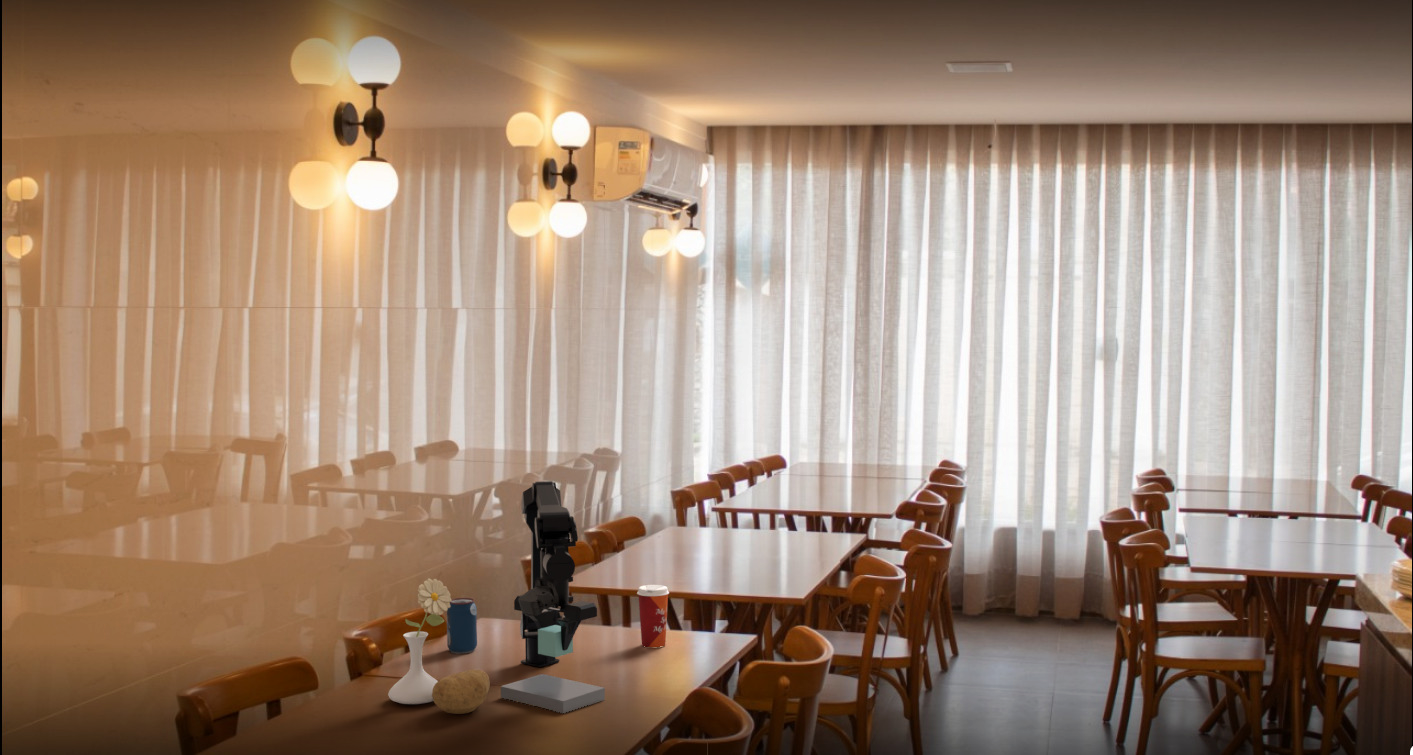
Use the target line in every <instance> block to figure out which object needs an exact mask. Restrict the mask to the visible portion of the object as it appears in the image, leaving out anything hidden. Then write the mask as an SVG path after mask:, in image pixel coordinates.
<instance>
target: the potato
mask: <svg viewBox="0 0 1413 755" xmlns="http://www.w3.org/2000/svg"><path fill="white" fill-rule="evenodd" d="M437 681H438V682H437V683H436V684H435V686H434V687H433V691H432V697H433V700H434V701H433V703H434V704H435V705H436V706H437V707H438V708H439V710H441V711H443V712H445V713H448V714H454V715H456V714H457V715H462V714H469V713H472V712H474V711H475V710H476V709H477V708H478V707H479V706H481V705H482V704H483V703H484V702H485V699H486V698H487V695H488V692H489V690H490V685H491V682H490V677H489V676H488V673H486V672H485V671H483V670H481V669H473V668H472V669H468V670H465V671H459V672H456V673H452V674H450V675H447V676H445V677H442V678H441V679H440V680H437Z"/></svg>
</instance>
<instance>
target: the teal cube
mask: <svg viewBox="0 0 1413 755" xmlns="http://www.w3.org/2000/svg"><path fill="white" fill-rule="evenodd" d="M573 640H574V637H573V638H572V640H571V643H570V645H569V647H568V649H567V650H565V651H564V650H562V641H561V626H558V625H553V626H549V627H545V628H541V629H538V654H542V655H547V656H552V657H555V658H558V657H562V656H565V655H569V654H572V653H574V641H573Z"/></svg>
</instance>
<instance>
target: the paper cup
mask: <svg viewBox="0 0 1413 755" xmlns="http://www.w3.org/2000/svg"><path fill="white" fill-rule="evenodd" d="M668 589H669V588H668V586H665V585H663V584H662V585H661V584H647V585H646V584H645V585H641V586H639V587H638V590H637V593H636V595H638V605H639V606H638V607H639V608H638V609H639V623H640V624H639V626H640V638H641V639H640V640H641V647H643V646H645V647H660V646H664V645H665V646H666V642H667V641H666V638H667V620H668V619H667V618H668V604H669V603H668V600H669V599H668V598H669V594H670V591H669V590H668ZM665 646H664V647H665ZM645 647H644V648H645Z"/></svg>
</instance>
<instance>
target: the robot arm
mask: <svg viewBox="0 0 1413 755" xmlns="http://www.w3.org/2000/svg"><path fill="white" fill-rule="evenodd" d="M531 483H532V484H531V486H530V487H529V488H527V489H525V490H524V491H523V492H522V494H521V500H520V503H521V504H520V506H521V514H522V515H523V518H524V520H525V523H526V526H528V528H529V530H530V532H531V533H530V534H531V536H530V540H531V541H530V546H531V548H530V560H531V561H530V565H531V566H530V568H531V569H530V573H531V574H530V583H531V584H530V589H529V590H528V591H526V592H525V593H524V594H519V595H517V596H516V597H515V598H514V601H513V608H514V609H513V610H514V611H519V612H521V616H520V626H519V627H520V628H519V629H520V631H519V632H520V637H521V639H522V640H525V641H524V642H525V643H524V644H525V659H522V660H520V664H524V665H528V666H532V667H537V668H542V667H546V666H549V665H552V664H556V663H559V662H560V659H559V658H556V657H552V656H547V655H542V654H538V629H541V628H545V627H549V626H553V625H558V626H561V641H562V650H564V651H565V650H567V649H568V647H569V645H570V643H571V640H572V638H573V639H574V636H575V634H576V631H577V630H578V628H579V625H580V624H581V623H582V621H584V620H588V619H593V618H596V617H598V607H597V604H595V602H590V601H586V600H585V601H584V600H581V601H580V600H579V601H576V602H574V596H573V595H570V583H572V582H574V576H573V575H574V573H575V570H576V564H575V560H574V559H573V558H572V556H571V555H570V552H569V548H572V547H573V548H574V547H575V548H576V546H577V544H576V542H577V543H578V540H579V537H578V530H577V524H576V523H577V522H576V521H575V520H574V516H571V514H570V511H569V509H568V508H567V507H565V506H562V498H561V497H562V496H561V490H560V489H559V488H557V484H556V482H555V481H554V482H553V481H552V480H548V481H543V480H542V481H535V482H531ZM561 613H563V614H562V615H561Z"/></svg>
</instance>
